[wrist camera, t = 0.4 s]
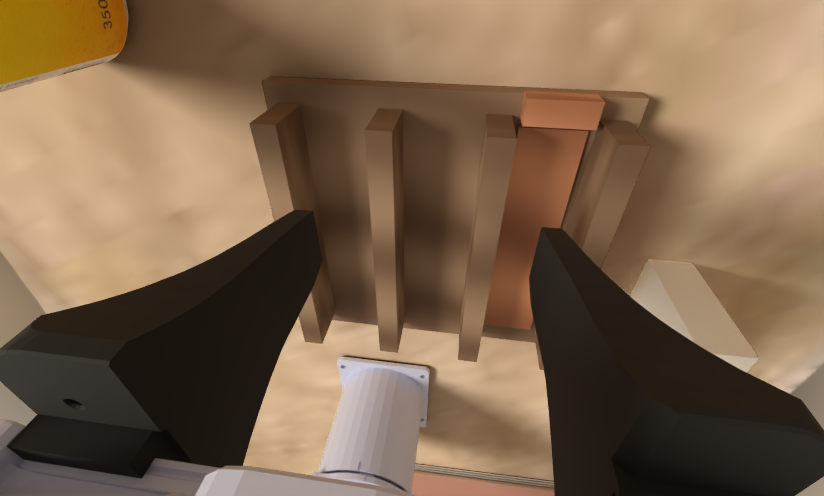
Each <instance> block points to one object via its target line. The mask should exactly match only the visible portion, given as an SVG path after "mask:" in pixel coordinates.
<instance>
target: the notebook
mask: <svg viewBox="0 0 824 496" xmlns="http://www.w3.org/2000/svg"><path fill="white" fill-rule="evenodd" d="M411 494H415V495H416V496H555V494H554V482H553V481H545V480H537V479H530V478H522V477H514V476H506V475H498V474H491V473H483V472H475V471H467V470H459V469H452V468H444V467H436V466H428V465H420V464H415V469H414V477H413V485H412V493H411Z"/></svg>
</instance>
